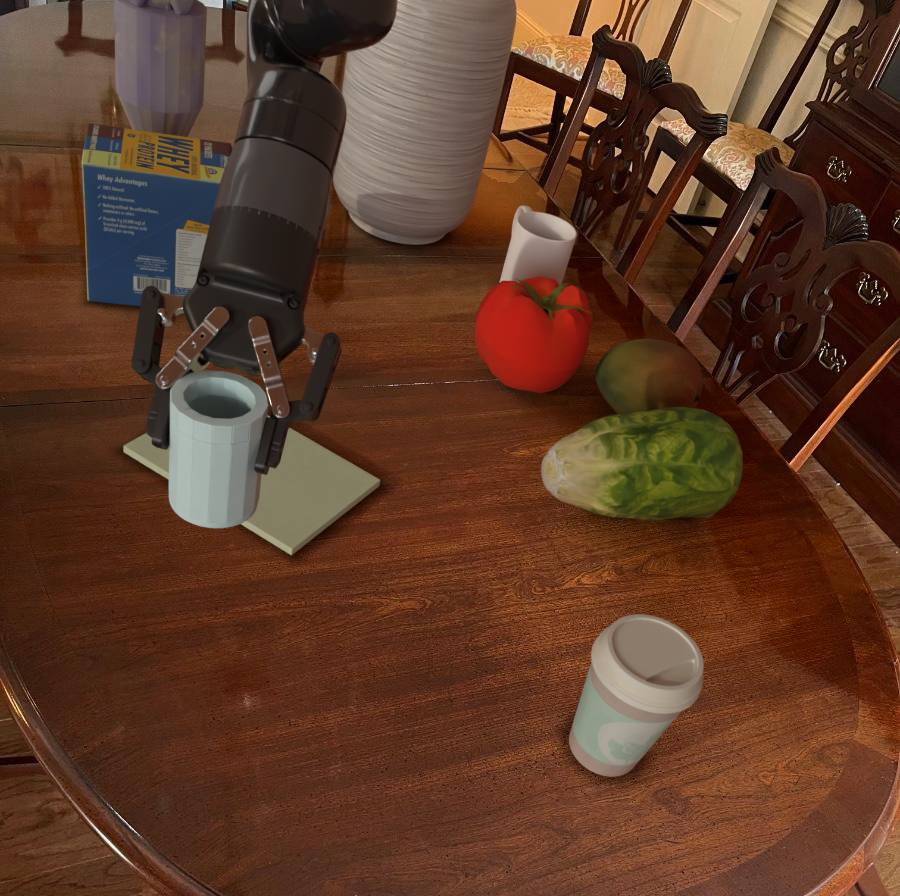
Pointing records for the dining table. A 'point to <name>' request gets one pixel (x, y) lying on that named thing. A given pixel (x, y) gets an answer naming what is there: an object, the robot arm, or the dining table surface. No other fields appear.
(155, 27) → the decorative object
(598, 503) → the lettuce
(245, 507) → the cylindrical container
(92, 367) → the dining table surface
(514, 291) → the tomato
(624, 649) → the coffee cup
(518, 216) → the mug
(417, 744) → the dining table surface
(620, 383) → the fruit
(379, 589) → the dining table surface
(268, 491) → the mat
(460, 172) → the vase
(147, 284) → the protein box
